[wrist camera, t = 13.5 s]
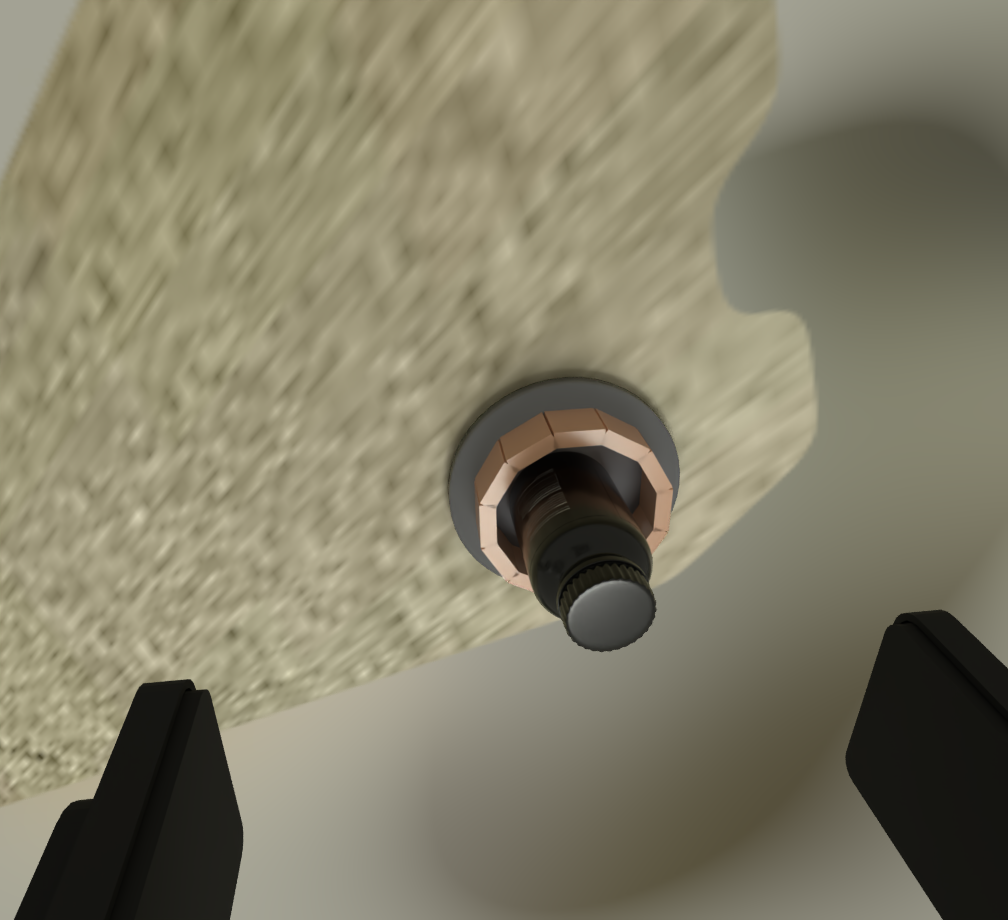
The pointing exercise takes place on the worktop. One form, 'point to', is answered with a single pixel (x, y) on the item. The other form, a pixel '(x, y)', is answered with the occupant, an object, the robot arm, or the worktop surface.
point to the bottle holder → (554, 428)
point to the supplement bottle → (583, 550)
